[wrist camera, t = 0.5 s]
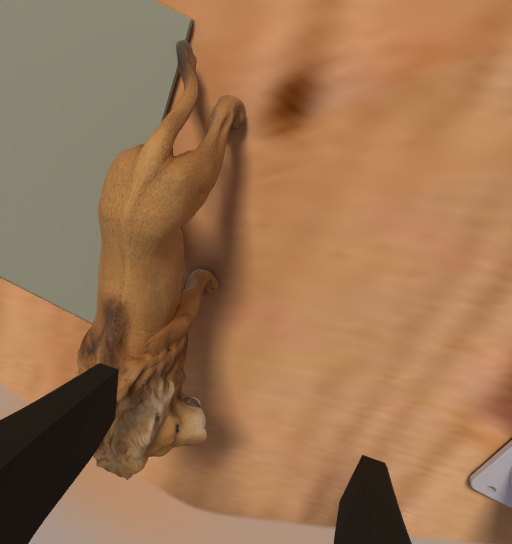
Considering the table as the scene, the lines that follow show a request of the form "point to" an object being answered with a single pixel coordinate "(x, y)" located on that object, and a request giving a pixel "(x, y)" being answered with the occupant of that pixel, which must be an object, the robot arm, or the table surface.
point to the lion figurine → (153, 281)
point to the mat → (73, 129)
